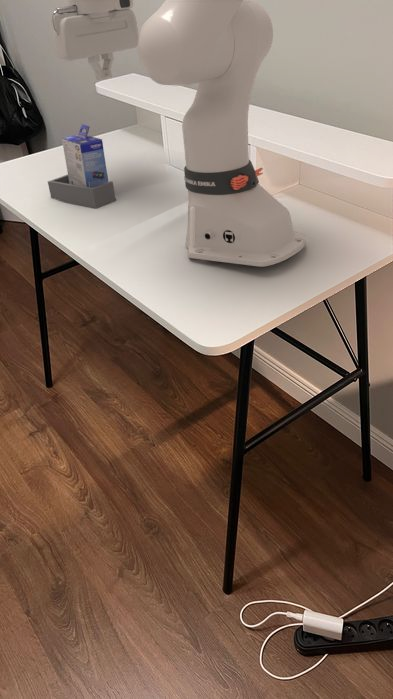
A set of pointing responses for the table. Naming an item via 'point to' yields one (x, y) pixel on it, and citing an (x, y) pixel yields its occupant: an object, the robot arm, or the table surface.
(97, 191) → the bay
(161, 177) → the table surface
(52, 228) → the table surface
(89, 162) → the ink cartridge box
